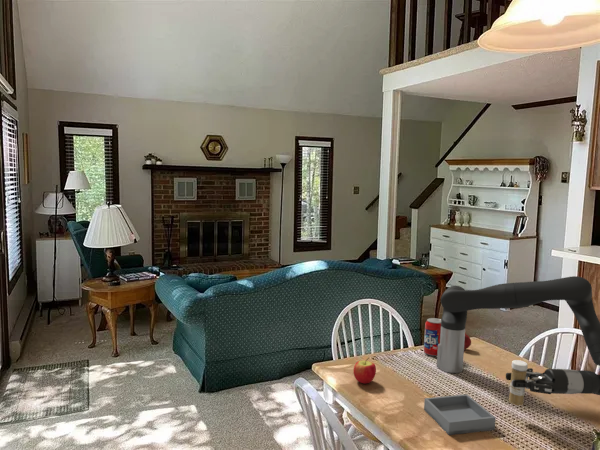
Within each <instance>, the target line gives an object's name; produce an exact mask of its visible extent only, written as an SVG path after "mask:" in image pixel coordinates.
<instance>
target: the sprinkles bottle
mask: <svg viewBox="0 0 600 450" xmlns="http://www.w3.org/2000/svg"><path fill="white" fill-rule="evenodd" d="M528 365H529V364H528V363H527V362H526V361H524V360H520V359H514V360H512V361H511V372H510V373H511V380H510V383H509V396H508V397H509V398H508V402H509V403H510V404H511V405H515V406H523V405H524V403H525V402H524V399H525V393H526V391H525V390H526V388H522V387H513V386H512V382H513V380H525V381H526V371H527V369H528Z"/></svg>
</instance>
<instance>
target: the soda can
mask: <svg viewBox="0 0 600 450" xmlns="http://www.w3.org/2000/svg"><path fill="white" fill-rule="evenodd" d="M441 319H442V318H436V317H430V318H427V319H426V321H425V322H424V323H425V325H424V340H423V352H424V353H425V354H426V355H428V356H430V357H437V351H438V344H440V334H441Z"/></svg>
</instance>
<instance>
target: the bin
mask: <svg viewBox="0 0 600 450" xmlns="http://www.w3.org/2000/svg"><path fill="white" fill-rule="evenodd" d="M423 401H424V403H423V411H424V412H425V413H426V414H428V415H429V417H432V418H433V419H434V420H435V421H436V422H437V423H438V424H437V423H436V422H435V421H434V420H433V419H432V418H431V419H432V420H433V421H434V422H435V423H436V424H437V425H438V426H439V427H440V428H441V429H442V430H443V431H444V432H445V431H446V432H445V433H446V434H447V436H454V435H461V434H462V435H463V434H471V433H472V434H473V433H479V432H480V431H481V432H488V431H495V429H496V416H495V415H493V414H492V413H491V412H490V411H489V410H487V409H486V408H485V407H483V406H482V405H481V404H480V403H478V401H476V400H475V399H474V398H472V397H471V396H470V395H468V394H457V395H456V394H455V395H446V396H435V397H425V398H424V400H423Z"/></svg>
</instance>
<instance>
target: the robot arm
mask: <svg viewBox="0 0 600 450" xmlns="http://www.w3.org/2000/svg"><path fill="white" fill-rule="evenodd" d="M547 301H548V302H549V301H565V302H566V303H567V306H568V307H569V308H570V310H571V311H572V313H573V315H574V317H575V318H576V320H577V322H578V325H579V327H580V331H581V333H582V336H583V340H584V342H585V344H586V347H587V350H588V352H589V355H590V357H591V360H592V362H593V363H594V365H596V366H597V367H600V320H599V317H598V315H597V313H596V309H595V306H594V303H593V287H592V285H591V283H590V281H589V280H587V279H586V278H585V277H582V276H578V275H577V276H576V275H575V276H567V277H566V276H565V277H561V278H554V279H550V280H540V281H537V280H536V281H524V282H507V283H500V284H495V285H492V286H491V285H490V286H487V287H484V288H478V289H468V290H467V289H466V290H465V288H463V287H462V286H459V285H451V286H450V287H448V288H447V289H446V290H445V291H444V292H443V293H442V295H441V297H440V305H441V307H442V310H443V311H442V316H441V318H440V319H441V334H440V344H438V351H437V356H436V368H437V369H440V370H441V371H443V372H446V373H450V374H451V373H452V374H459V373H462V371H463V369H464V355H465V350H464V341H465V332H466V325H467V318H468V311H472V310H473V311H474V310H480V309H481V310H482V309H483V310H486V309H487V310H488V309H489V310H491V309H496V310H497V309H498V310H500V309H521V308H526V307H531V306H533V305H537V304H540V303H543V302H547ZM511 373H512V372H506V373H505V380H506V381H511ZM512 386H513V387H522V388H525V390H529V392H533V393H539V394H546V395H552V394H553V395H554V394H556V395H557V394H559V395H560V394H561V395H564V394H565V395H574V394H575V395H576V394H584V395H585V394H586V395H587V394H589V395H591V394H593V395H597V396H600V374H597V373H595V372H594V371H592V370H578V369H577V370H576V369H570V368H547V369H545V370H544V372H539V371H538V372H537V371H534V369H533V368H531V367H529V368H528V367H527V371H526V381H525V380H513V382H512Z"/></svg>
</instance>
